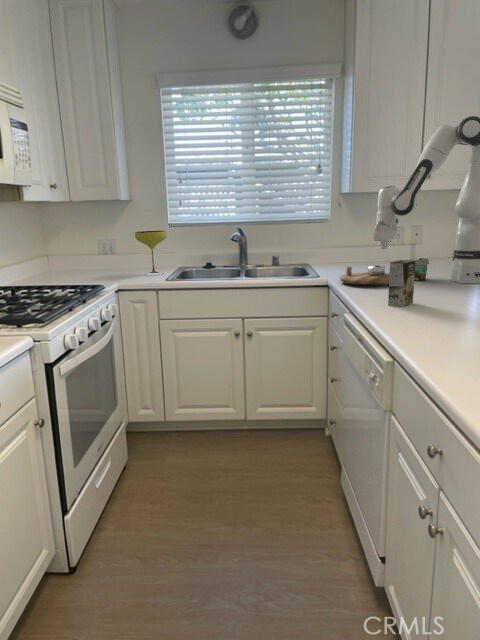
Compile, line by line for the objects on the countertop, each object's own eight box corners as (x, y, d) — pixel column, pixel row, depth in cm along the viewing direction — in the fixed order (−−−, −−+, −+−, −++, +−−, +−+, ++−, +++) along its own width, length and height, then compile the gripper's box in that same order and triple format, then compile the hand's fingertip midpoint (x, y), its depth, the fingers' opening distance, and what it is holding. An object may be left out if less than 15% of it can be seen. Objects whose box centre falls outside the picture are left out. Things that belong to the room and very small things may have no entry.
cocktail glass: (163, 276, 270) (160, 232, 264) (133, 276, 273) (130, 233, 267) (173, 271, 287) (170, 230, 281) (144, 272, 290) (141, 231, 284)
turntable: (409, 277, 226) (410, 266, 224) (387, 286, 205) (388, 274, 203) (355, 273, 243) (355, 263, 242) (329, 281, 222) (329, 270, 220)
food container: (423, 282, 220) (424, 261, 218) (410, 281, 224) (411, 260, 221) (431, 278, 230) (432, 258, 227) (418, 278, 233) (419, 257, 231)
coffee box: (404, 307, 171) (406, 263, 168) (387, 305, 175) (389, 262, 172) (413, 302, 178) (415, 260, 174) (397, 301, 182) (398, 259, 178)
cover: (387, 274, 229) (387, 265, 228) (380, 276, 223) (381, 267, 222) (371, 273, 234) (372, 264, 233) (364, 275, 228) (365, 266, 227)
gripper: (383, 221, 220) (382, 251, 224) (399, 219, 236) (397, 247, 239) (371, 221, 224) (369, 250, 228) (387, 219, 240) (385, 247, 243)
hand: (384, 249), depth 234 cm, fingers closed
